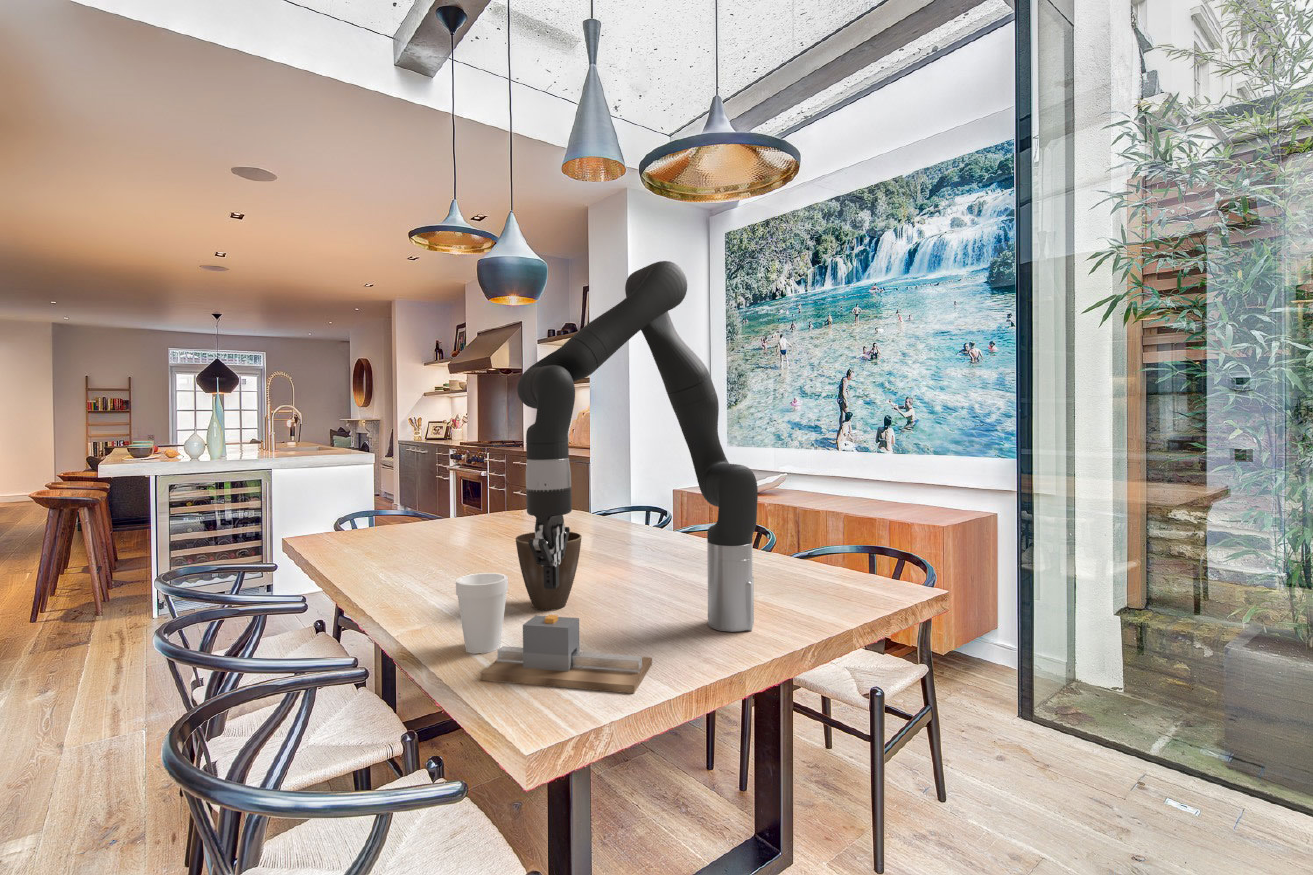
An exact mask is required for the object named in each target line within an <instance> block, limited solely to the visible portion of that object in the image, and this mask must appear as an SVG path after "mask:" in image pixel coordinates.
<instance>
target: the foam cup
mask: <svg viewBox="0 0 1313 875" xmlns="http://www.w3.org/2000/svg"><path fill="white" fill-rule="evenodd" d="M508 591H509V578H508V575H507V574H503V573H498V572H497V573H496V572H479V573H472V574H467V575H462V576H459V577H457V579H455V595H456V596H457V600H458V601H457V602H458V608H459V614H460V621H461V627H462V628H461V629H462V633H463V635H462V636H463V641H464V642H463V643H464V646H465V651H466V652H467V651H468V653H469V654H475V653H481V654H488V653H493V652H495V651H497V649H498V648H499V647H500V648H501V644H502V634H503V627H504V626H503V625H504V618H505V612H506V611H505V610H506V601H507V594H508V593H507V592H508ZM500 648H499V649H500Z"/></svg>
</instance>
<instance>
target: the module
mask: <svg viewBox="0 0 1313 875" xmlns="http://www.w3.org/2000/svg"><path fill="white" fill-rule="evenodd" d="M580 643H581V642H580V618H579V617H570V616H569V617H568V616H567V617H565V616H559V615H558V614H548V615H534V616H533V617H532V618H530V619H529V620H527V621H526V622H525V623H523V624H522V648H523V668H533V669H545V670H557V671H570V669H571V653H572V652H573V651H575V652H581V650H580V649H581V648H580Z"/></svg>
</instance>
